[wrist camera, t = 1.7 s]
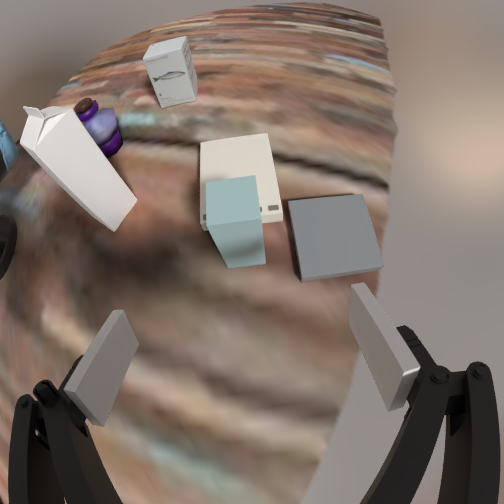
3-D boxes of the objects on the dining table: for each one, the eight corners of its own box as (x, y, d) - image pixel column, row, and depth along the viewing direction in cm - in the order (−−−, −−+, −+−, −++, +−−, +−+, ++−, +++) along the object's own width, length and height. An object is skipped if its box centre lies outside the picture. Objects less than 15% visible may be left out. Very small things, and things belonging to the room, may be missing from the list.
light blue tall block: (265, 263, 32) (261, 218, 22) (228, 268, 32) (206, 225, 22) (261, 229, 34) (255, 174, 24) (225, 233, 34) (205, 181, 24)
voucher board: (282, 220, 34) (282, 212, 32) (204, 231, 34) (199, 223, 32) (267, 142, 39) (267, 132, 37) (203, 151, 40) (200, 141, 38)
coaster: (379, 270, 30) (383, 266, 29) (300, 281, 31) (302, 278, 29) (359, 200, 34) (362, 194, 33) (287, 207, 35) (288, 201, 33)
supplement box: (160, 109, 45) (140, 59, 34) (166, 90, 48) (149, 44, 37) (197, 102, 45) (181, 48, 33) (199, 83, 48) (186, 34, 36)
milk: (115, 188, 39) (41, 87, 18) (138, 200, 37) (60, 86, 17) (92, 218, 37) (5, 126, 17) (114, 233, 35) (16, 131, 15)
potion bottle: (134, 127, 44) (110, 80, 33) (124, 159, 41) (93, 111, 30) (99, 137, 45) (72, 96, 34) (87, 169, 42) (53, 128, 30)
